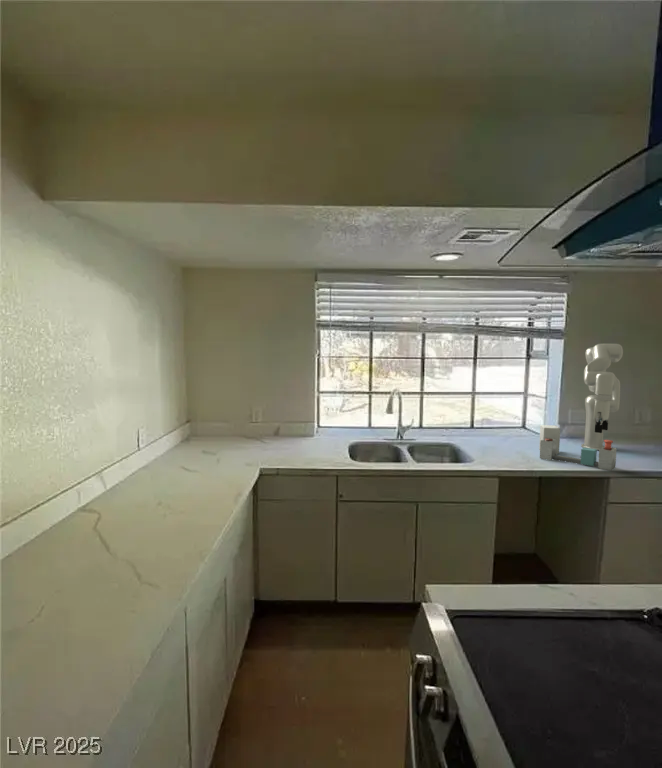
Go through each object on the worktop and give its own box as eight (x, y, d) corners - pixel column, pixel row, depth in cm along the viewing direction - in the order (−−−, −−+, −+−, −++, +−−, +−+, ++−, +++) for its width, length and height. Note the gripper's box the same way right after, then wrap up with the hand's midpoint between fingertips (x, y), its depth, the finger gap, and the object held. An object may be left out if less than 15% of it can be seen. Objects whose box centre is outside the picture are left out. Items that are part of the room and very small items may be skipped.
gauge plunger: (604, 448, 239) (604, 439, 238) (613, 449, 236) (613, 440, 235) (602, 449, 236) (602, 440, 235) (611, 450, 233) (612, 441, 232)
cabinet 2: (602, 465, 242) (603, 446, 241) (615, 467, 238) (616, 448, 237) (598, 468, 236) (599, 449, 235) (611, 470, 232) (612, 451, 231)
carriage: (583, 462, 246) (584, 447, 245) (595, 464, 242) (596, 449, 241) (580, 463, 243) (581, 449, 242) (593, 466, 239) (594, 451, 238)
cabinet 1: (544, 455, 261) (545, 436, 260) (556, 457, 257) (557, 438, 256) (539, 458, 255) (540, 439, 254) (551, 460, 251) (552, 441, 250)
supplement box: (559, 454, 264) (560, 428, 262) (542, 453, 265) (543, 427, 264) (555, 450, 272) (556, 425, 271) (538, 449, 274) (540, 424, 273)
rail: (554, 458, 255) (554, 454, 255) (600, 466, 240) (601, 462, 240) (552, 459, 253) (552, 455, 253) (599, 467, 238) (599, 463, 237)
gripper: (599, 395, 244) (598, 427, 246) (589, 398, 232) (587, 432, 233) (616, 396, 239) (614, 429, 241) (606, 400, 226) (604, 434, 228)
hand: (601, 431), depth 237 cm, fingers open, 9 cm apart
